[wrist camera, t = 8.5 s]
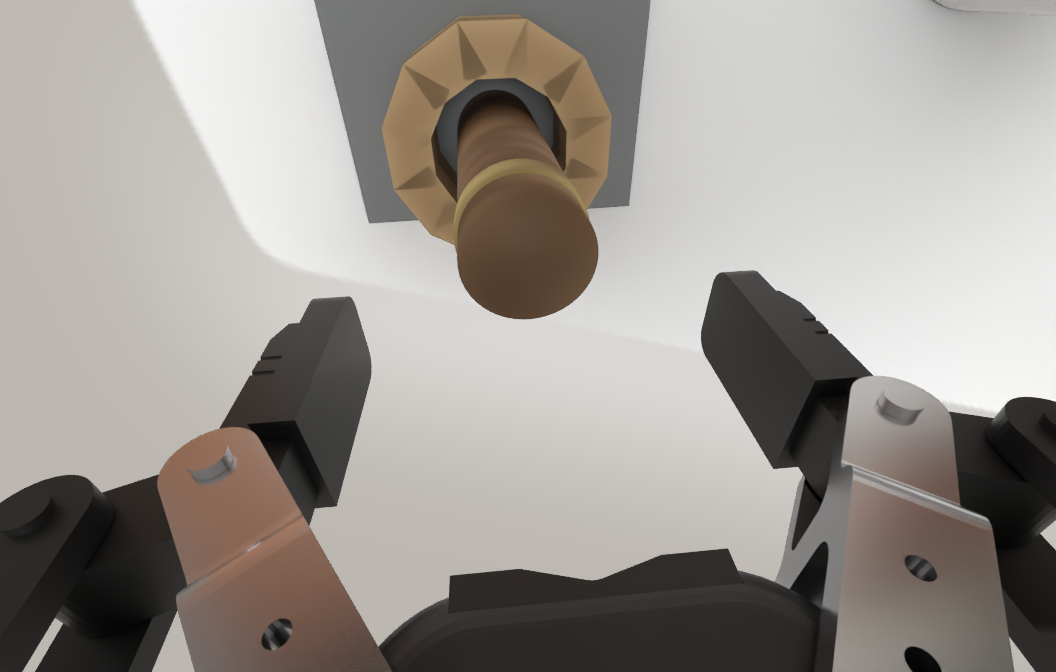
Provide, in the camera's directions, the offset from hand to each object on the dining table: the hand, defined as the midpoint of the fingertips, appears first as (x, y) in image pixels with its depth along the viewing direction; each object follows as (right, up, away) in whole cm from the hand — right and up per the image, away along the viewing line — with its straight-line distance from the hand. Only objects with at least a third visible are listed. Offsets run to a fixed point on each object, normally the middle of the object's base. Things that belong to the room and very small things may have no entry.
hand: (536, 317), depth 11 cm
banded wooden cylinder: (-2, +10, +14) cm, 17 cm away
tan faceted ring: (-2, +10, +14) cm, 17 cm away
